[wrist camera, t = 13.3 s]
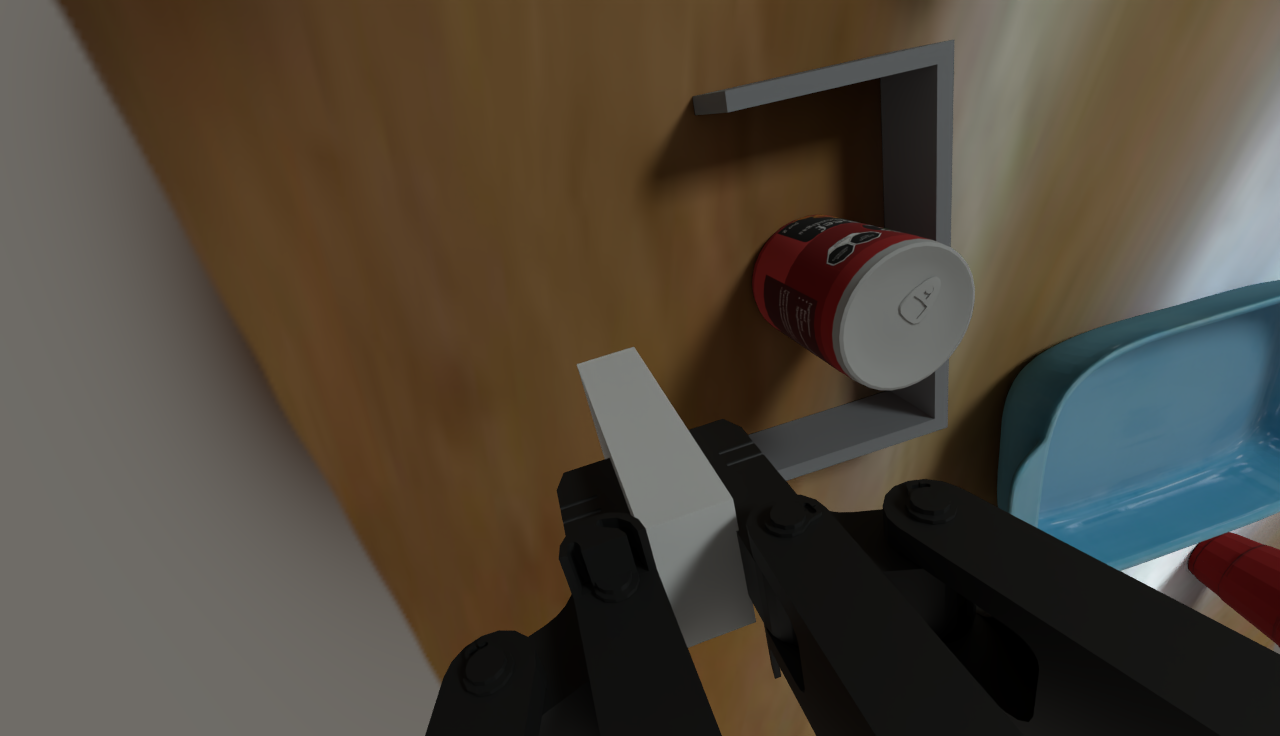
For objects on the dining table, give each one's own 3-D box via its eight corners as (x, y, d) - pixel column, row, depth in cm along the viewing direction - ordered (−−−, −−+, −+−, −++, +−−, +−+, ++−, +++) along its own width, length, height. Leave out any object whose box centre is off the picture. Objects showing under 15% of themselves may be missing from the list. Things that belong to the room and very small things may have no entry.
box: (692, 96, 34) (724, 90, 29) (894, 51, 36) (954, 39, 31) (744, 448, 44) (775, 484, 39) (901, 398, 45) (947, 427, 41)
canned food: (873, 233, 40) (1003, 267, 30) (822, 342, 42) (928, 407, 32) (778, 194, 37) (886, 217, 27) (730, 312, 39) (814, 373, 29)
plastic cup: (1241, 571, 66) (1389, 657, 56) (1162, 605, 65) (1298, 700, 54) (1262, 494, 62) (1427, 571, 51) (1177, 529, 60) (1329, 615, 50)
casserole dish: (946, 564, 54) (1008, 622, 48) (953, 341, 45) (1032, 376, 39) (1265, 449, 60) (1360, 488, 53) (1329, 231, 51) (1452, 245, 44)
